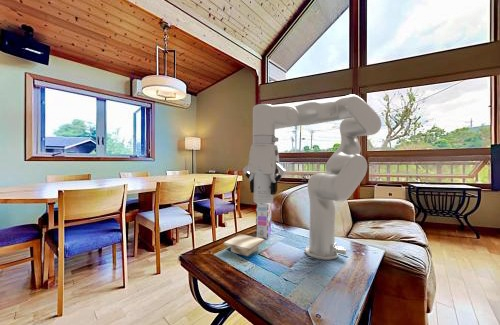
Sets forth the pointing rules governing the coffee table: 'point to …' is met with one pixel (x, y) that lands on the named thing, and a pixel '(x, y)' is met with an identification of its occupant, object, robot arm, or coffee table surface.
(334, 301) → the coffee table surface
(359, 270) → the coffee table surface
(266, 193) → the skincare box
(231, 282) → the coffee table surface
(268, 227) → the candy box
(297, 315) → the coffee table surface
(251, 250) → the cream square tile
